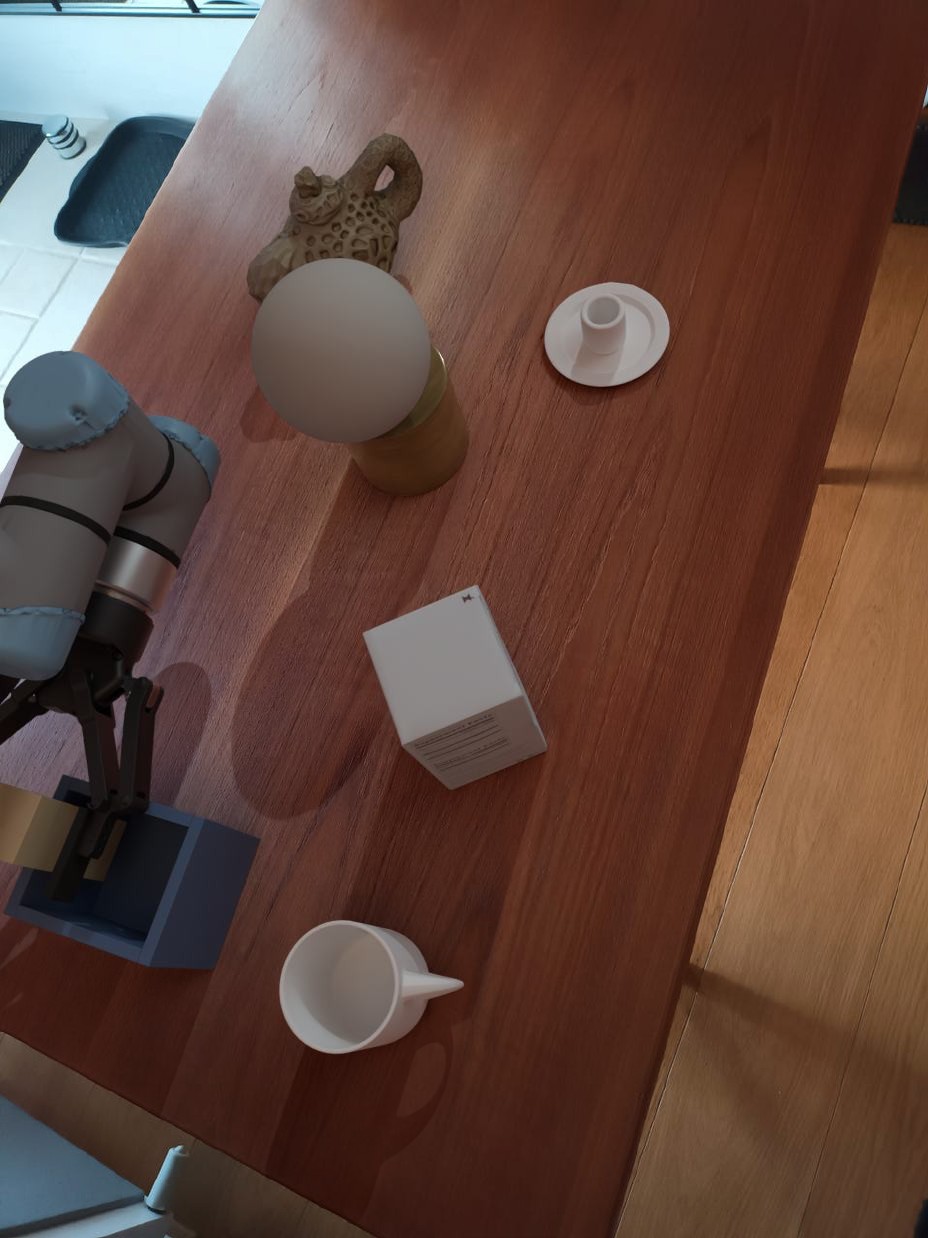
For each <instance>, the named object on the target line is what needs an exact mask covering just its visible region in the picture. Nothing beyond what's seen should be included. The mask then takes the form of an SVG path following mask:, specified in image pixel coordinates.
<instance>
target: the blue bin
mask: <svg viewBox="0 0 928 1238" xmlns="http://www.w3.org/2000/svg"><path fill="white" fill-rule="evenodd" d="M52 798H53V799H56V800H59V801H62V802H65V803H68V804H72V805H75V806H78V807H83V808H86V809H89V810H93V809H90V808H89V807H88V806H87V804H86V803H90V802H92V800H91V792H90V785H89V781H87V780H83V779H80V778H78V777H74V776H71V775H68V774H64V773H63V774H62V775H61V778H60V780H59V782H58V784H57V787H56V789H55V791H54V794H53V796H52ZM90 804H91V803H90ZM118 819H120V820H123V821H126V822H127V825H126V827H125V830H124V832H123V835H122V837H121V840H120V842H119V844H118V847H117V849H116V852H115V854H114V857H113V859H112V862H111V864H110V867H109V869H108V872H107V874H106V877H105V879H104V881H103V882H102V881H97V880H92V879H86V878H83V879H82V881H81V884H80V886H79V889H78V891H77V893H76V896H75V898H74V901H73V903H67V902H60V901H53V900H49V899H46V898H43V897H42V895H43V893H44V890H45V888H46V885H47V883H48V881H49V878H50V876H51V874H52V872H49V871H44V870H38V869H33V868H28V867H23V866H22V868H21V870H20V873H19V875H18V876H17V880H16V882H15V884H14V887H13V889H12V891H11V894H10V896H9V899H8V900H7V903H6V905H5V908H4V909H3V915H5V916H8V917H11V918H14V919H16V920H18V921H22V922H24V923H26V924H30V925H33V926H36V927H38V928H40V929H43V930H46V931H49V932H51V933H55V934H57V935H58V936H59V935H60V936H62V937H65V938H67V939H70V940H73V941H76V942H79V943H82V944H84V945H87V946H90V947H92V948H95V949H97V950H101V951H103V952H106V953H109V954H111V955H115V956H116V957H119V958H122V959H125V960H128V961H130V962H133V963H136V964H138V965H142V966H144V967H147V968H162V969H164V968H166V969H192V970H193V969H194V970H214V969H215V967H216V964H217V962H218V960H219V956H220V955H221V951H222V948H223V946H224V942H225V939H226V937H227V935H228V932H229V928H230V926H231V924H232V920H233V918H234V915H235V912H236V909H237V906H238V904H239V901H240V898H241V895H242V893H243V890H244V887H245V884H246V882H247V878H248V876H249V874H250V870H251V867H252V865H253V862H254V859H255V856H256V853H257V851H258V848H259V846H260V843H261V838H260V837H257V836H254V835H252V834H249V833H247V832H244V831H241V830H238V829H236V828H233V827H231V826H227V825H225V824H222V823H220V822H217V821H214V820H211V819H209V818H206V817H203V816H200V815H196V814H194V813H190V812H188V811H184V810H181V809H178V808H174V807H171V806H167V805H165V804H162V803H158V802H155V801H151V800H149V808H148V810H147V811H146V812H145V813H144V814H136V813H135V814H125V815H122V816H120V817H119V818H118Z"/></svg>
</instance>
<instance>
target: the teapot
mask: <svg viewBox="0 0 928 1238" xmlns="http://www.w3.org/2000/svg"><path fill="white" fill-rule="evenodd" d="M386 167H388V168H390V170H391V171H392V172H394V174H393V177H392V179H391V180H390V181H389V182H388V184H387V186H386V187H384V188H381V189H379V190H375V189H376V186H377V183H378V180H379V178H380V176H381V175H382V173H383V171H384V170H385V169H386ZM423 178H424V174H423V170H422V168H421V166H420V163H419V162H418V159H417V157H416V155H415V152H414V151H413V150H412V149H411V147H410V145H408V143H407V142H406V140H404V139H403V137H401V136H397V135H394V134H390V133H387V132H383V133H382V134H380V135H379V136H377V137H376V138H374V139H372V140H370V141H369V142H368V143H367V145H366V146H365V147H364V149H362V152H361V153H360V154H359V155H358V157H357V158H356V160H355V161H354V162H353V164H352V165H351V166H350V167H349V169H348V170H347V171H346V172H345V173H344V174H343V175H341V176H340V177H339V178H338V179H334V177H332V176H331V175H328V174H320V175H316V173H315V172H314V170H313V168H311V166H307V165H304V166H302V168H301V169H300V170H298V172H297V173H296V174H295V175H294V176H293V183H294V187H293V189H292V190H291V192H290V196H289V200H288V207H289V212H290V214H289V215H288V216H287V218H286V219H285V222H284V225H283V228H282V230H281V231H280V232H279V233H278V234H277V235H276V236H275V237H274V238H273V239H272V240H271V241H270V243H268V244H267V245H265V246H264V247H263V248H261V250H260V251H259V253H257V254H256V256H255V257H254V258H253V259H252V260H251V262H249V264H248V269H247V273H246V283H247V286H248V294H249V295H250V297H252V299H254V300H255V302H257V304H258V305H259V306H260V307H261V305H262V303H263V301H264V299H265V298H266V296H267V295H268V293H269V292H270V291H271V290H272V289H273V287H274V286H275V285H276V284H277V283H278V282H279V281H280V280H281V279H282V278H284V277H285V276H286V275H287V274H289V273H290V272H292V271H293V270H295V269H297V268H299V267H301V266H303V265H305V264H308V263H311V262H314V261H318V260H323V259H332V258H345V259H352V260H357V261H362V262H365V263H368V264H370V265H373V266H375V267H377V268H379V269H381V270H383V271H384V272H386V273H388V274H389V275H390V273H391V271H392V269H393V264H394V260H395V255H396V254H397V251H398V245H399V242H400V227H401V223H402V222H403V221H404V220H406V219H407V218H409V217H411V215H412V214H413V212H414V211H415V209H416V207H417V205H418V203H419V202H420V200H421V196H422V191H423V185H424V179H423Z"/></svg>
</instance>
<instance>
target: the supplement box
mask: <svg viewBox="0 0 928 1238" xmlns="http://www.w3.org/2000/svg"><path fill="white" fill-rule="evenodd" d="M361 634H362V638H363V640H364V643H365V647H366V649H367V652H368V654H369V657H370V660H371V662H372V665H373V668H374V672H375V674H376V678H377V680H378V682H379V684H380V688H381V691H382V694H383V696H384V699H385V702H386V704H387V707H388V710H389V713H390V716H391V719H392V721H393V725H394V727H395V729H396V730H395V731H396V733H397V736H398V739H399V741H400V745H401V747H402V748H403V749H404V750H405V751H406V752H407V753H408V754H410V756H412V757H413V758H414V759H415V760H416V761H417V762H419V764H421V765H422V766H423V767H424V768H425V769H426V770H427V771H428V772H430V774H431V775H433V776H434V777H435V778H436V779H437V780H438V781H439V783H442V784H443V785H444V786H445V788H447V789H448V790H450V791H452V790H455V789H458V788H460V787H463V786H465V785H468V784H470V783H473V782H475V781H478V780H480V779H482V778H485V777H487V776H490V775H492V774H494V773H497V772H499V771H501V770H504V769H506V768H508V767H511V766H513V765H516V764H518V763H521V762H523V761H526V760H528V759H531V758H533V757H535V756H538V755H540V754H543V753H545V752H547V750H548V744H547V742H546V738H545V735H544V733H543V731H542V729H541V725H540V723H539V721H538V719H537V717H536V713H535V711H534V709H533V706H532V704H531V701H530V698H528V695H527V692H526V689H525V687H524V685H523V682H522V679H520V678H521V677H520V676H519V674H518V671H517V669H516V666H515V664H514V663H513V661H512V657H511V656H510V653H509V652H508V649H507V648H506V647H507V646H506V645H505V643H504V641H503V638H502V636H501V634H500V631H499V630H498V626H497V625H496V623H495V619H494V617H493V615H492V613H491V610H490V608H489V606H488V604H487V601H486V599H485V597H484V596H483V593H482V591H481V589H480V587H479V585H478V584H475V585H472V586H469V587H467V588H465V589H462V590H460V591H458V592H456V593H453V594H450V595H447V596H446V597H443V598H441V599H439V600H436V601H435V602H432V603H430V604H427V605H425V606H422V607H420V608H418V609H415V610H413V611H410V612H408V613H406V614H403V615H401V616H398V617H395V618H394V619H392V620H389V621H387V622H384V623H382V624H379V625H378V626H375V627H373V628H370V629H368V630H366V631H364V632H362V633H361Z"/></svg>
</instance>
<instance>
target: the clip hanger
mask: <svg viewBox="0 0 928 1238" xmlns="http://www.w3.org/2000/svg"><path fill="white" fill-rule="evenodd" d="M78 809H79V807H78V806H75V805H72V804H68V803H65V802H62V801H59V800H56V799H53V797H50V796H47V795H44V794H42V793H41V794H40V793H38V792H34V791H30V790H27V789H25V788H21V787H17V786H14V785H12V784H8V783H5V782H3V781H0V861H1V862H4V863H6V864H10V865H13V866H17V867H18V866H19V867H22V868H23V867H28V868H33V869H38V870H44V871H49V872H52V871H53V869H54V866H55V864H56V862H57V859H58V857H59V855H60V852H61V850H62V847H63V845H64V843H65V840H66V838H67V836H68V833H69V831H70V828H71V826H72V824H73V821H74V819H75V817H76V814H77V812H78ZM126 825H127V822H126V821H123V820H120V819H117V821H116V822H115V825H114V827H113V830H112V832H111V835H110V837H109V840H108V842H107V844H106V847H105V849H104V852H103V854H102V855H101V856H100V858H99V859H98V860H97V859H92V858H91V859H90V862H89V864H88V867H87V869H86V871H85V874H84V876H83V878H86V879H92V880H97V881H102V882H103V881H104V879H105V877H106V874H107V872H108V869H109V867H110V864H111V862H112V859H113V857H114V854H115V852H116V849H117V847H118V844H119V842H120V840H121V837H122V835H123V832H124V830H125V827H126Z"/></svg>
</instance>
